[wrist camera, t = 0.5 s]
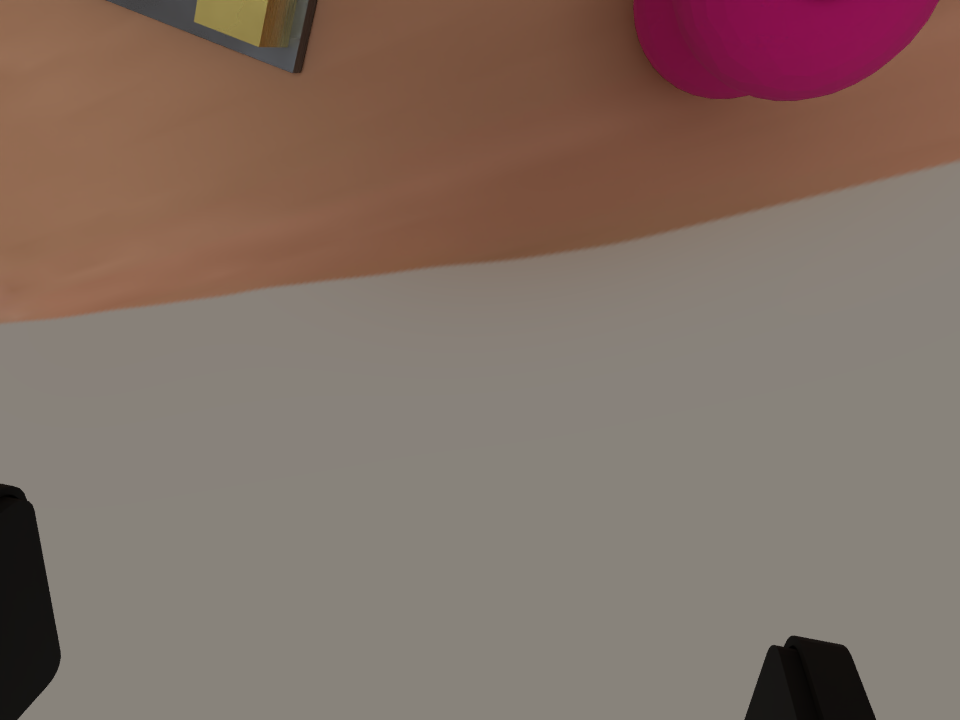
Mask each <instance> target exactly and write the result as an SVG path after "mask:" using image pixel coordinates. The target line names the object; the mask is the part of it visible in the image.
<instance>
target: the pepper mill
mask: <svg viewBox="0 0 960 720" xmlns="http://www.w3.org/2000/svg"><path fill="white" fill-rule="evenodd" d="M938 1H939V0H634V5H633V10H634V21H635V27H636V31H637V35H638V39H639V42H640V44H641V46H642V49H643V51H644V53H645V55H646V57H647V58H648V60H649V61H650V63H651V64H652V66H653V67H654V68H655V69H656V70H657V72H658V73H659V74H660V75H661V76H662V77H663V78H664V79H666V80H667V81H669V82H670V83H671V84H673V85H674V86H675V87H677V88H679V89H681V90H683V91H685V92H688V93H690V94H692V95H696V96H701V97H705V98H710V99H730V98H736V97H742V96H747V95H750V96H753V97H756V98H762V99H768V100H774V101H797V100H803V99H809V98H815V97H820V96H824V95H828V94H832V93H835V92H837V91H840V90H842V89H844V88H847V87H849V86H851V85H854V84H856V83H858V82H859V81H861V80H863V79H864V78H866V77H868V76H870V75H871V74H873V73H875V72H876V71H877V70H879V69H880V68H881V67H882V66H884V65H885V64H886V63H887V62H889V61H890V60H891V59H893V58H894V57H895V56H896V55H897V54H898V53H899V52H900V51H901V50H903V49H904V48H905V47H906V46H907V45H908V44H909V43H910V42H911V41H912V40H913V38H914V37H915V36H916V35H917V33H918V32H919V31H920V30H921V28H922V27H923V26H924V25H925V23H926V22H927V21H928V19H929V18H930V16H931V14H932V12H933V10H934V9H935V7H936V5H937V3H938Z"/></svg>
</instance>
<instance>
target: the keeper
mask: <svg viewBox="0 0 960 720" xmlns="http://www.w3.org/2000/svg"><path fill="white" fill-rule="evenodd" d="M107 1H109V2H112V3H115V4H117V5H120V6H122V7H125V8H127V9H130V10H132V11H135V12H138V13H140V14H143V15H145V16H148V17H150V18H153V19H156V20H158V21H161V22H163V23H166V24H168V25H171V26H173V27H176V28H179V29H181V30H184V31H186V32H189V33H191V34H194V35H196V36H199V37H202V38H204V39H207V40H209V41H212V42H214V43H217V44H219V45H222V46H225V47H227V48H230V49H232V50H235V51H237V52H240V53H242V54H245V55H248V56H250V57H253V58H255V59H258V60H260V61H263V62H265V63H268V64H271V65H273V66H276V67H278V68H281V69H283V70H286V71H289V72H291V73H301V70H302V66H303V61H304V57H305V52H306V48H307V43H308V39H309V34H310V30H311V26H312V21H313V17H314V12H315V8H316V3H317V0H107Z"/></svg>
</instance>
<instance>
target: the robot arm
mask: <svg viewBox="0 0 960 720" xmlns="http://www.w3.org/2000/svg"><path fill="white" fill-rule="evenodd" d="M60 659H61V653H60V646H59V641H58V635H57V630H56V625H55V619H54V614H53V609H52V603H51V597H50V592H49V586H48V581H47V576H46V570H45V565H44V560H43V554H42V549H41V543H40V538H39V532H38V527H37V522H36V516H35V511H34V508H33V505H32V504H31V503H30V502H29V501H27V499H26V497H25V494H24V492H23V491H22V490H21V489H20V488H17V487H14V486H10V485H5V484H0V720H17V719H18V718H19V717H20V716H21V715H22V714H23V713H24V711H25V710H26V709H27V708H28V707H29V706H30V705H31V704H32V702H33V701H34V700H35V699H36V698H37V697H38V696H39V695H40V693H41V692H42V691H43V690H44V689H45V688H46V687H47V685H48V684H49V683H50V682H51V680H52V679H53V678H54V676H55V674H56V672H57V670H58V667H59V664H60ZM745 720H876V718H875V715H874V713H873V710H872V708H871V705H870V703H869V700H868V697H867V695H866V692H865V690H864V687H863V684H862V682H861V679H860V677H859V674H858V672H857V670H856V666H855V664H854V661H853V659H852V656H851V654H850V652H849V651H848V649H847V648H846V647H845V646H844V645H840V644H835V643H830V642H824V641H820V640H814V639H809V638H804V637H798V636H790V637H789V638H788V639H787V641H786V643H785V645H784V647H781V646H776V645H772V646H771V647H770V648H769V650H768V652H767V655H766V657H765V660H764V663H763V667H762V669H761V673H760V675H759V678H758V681H757V684H756V687H755V690H754V693H753V696H752V699H751V702H750V705H749V708H748V711H747V714H746V717H745Z"/></svg>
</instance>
